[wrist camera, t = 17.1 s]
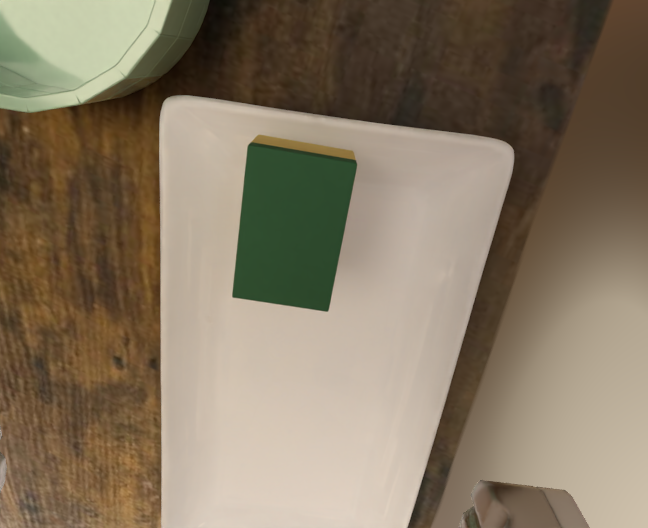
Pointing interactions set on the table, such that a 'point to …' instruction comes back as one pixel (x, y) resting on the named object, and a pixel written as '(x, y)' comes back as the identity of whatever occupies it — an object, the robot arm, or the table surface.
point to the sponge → (292, 222)
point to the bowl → (89, 48)
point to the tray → (314, 322)
